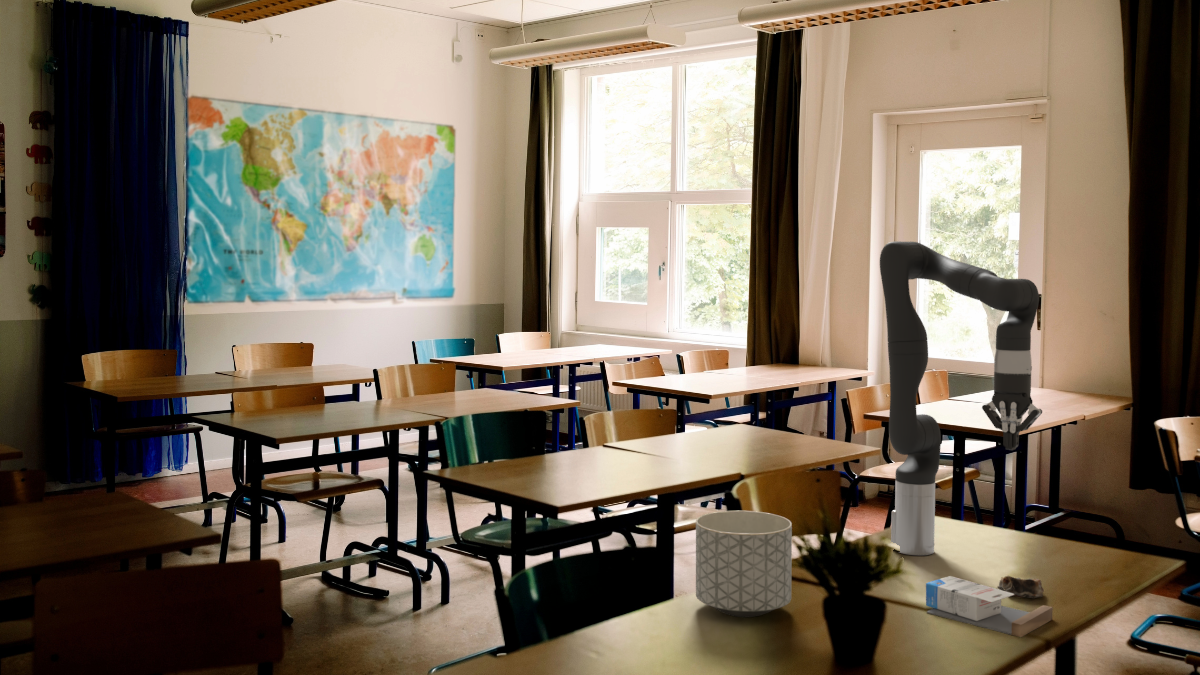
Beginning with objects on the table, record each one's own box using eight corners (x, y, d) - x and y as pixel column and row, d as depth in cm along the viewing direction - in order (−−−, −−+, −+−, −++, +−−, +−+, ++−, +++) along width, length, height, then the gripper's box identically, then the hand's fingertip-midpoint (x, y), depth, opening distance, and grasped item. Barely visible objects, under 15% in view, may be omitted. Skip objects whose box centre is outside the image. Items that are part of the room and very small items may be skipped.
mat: (927, 612, 201) (927, 611, 201) (960, 597, 211) (960, 595, 210) (1010, 634, 189) (1010, 633, 189) (1042, 616, 198) (1042, 615, 198)
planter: (802, 625, 194) (803, 532, 193) (704, 628, 193) (704, 535, 192) (778, 594, 213) (778, 509, 212) (688, 596, 212) (689, 511, 210)
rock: (1050, 602, 208) (1037, 579, 217) (1044, 577, 206) (1032, 555, 216) (1006, 610, 209) (996, 586, 219) (1000, 585, 208) (990, 562, 218)
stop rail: (1011, 634, 189) (1011, 622, 188) (1043, 617, 198) (1043, 605, 198) (1021, 637, 187) (1021, 624, 187) (1052, 619, 197) (1052, 607, 197)
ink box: (925, 606, 204) (990, 626, 192) (925, 582, 203) (990, 601, 192) (950, 598, 209) (1015, 617, 197) (950, 574, 208) (1016, 592, 197)
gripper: (975, 369, 222) (973, 447, 223) (1035, 373, 212) (1033, 455, 213) (990, 367, 227) (989, 443, 228) (1050, 371, 217) (1048, 451, 218)
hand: (1010, 449), depth 221 cm, fingers closed
